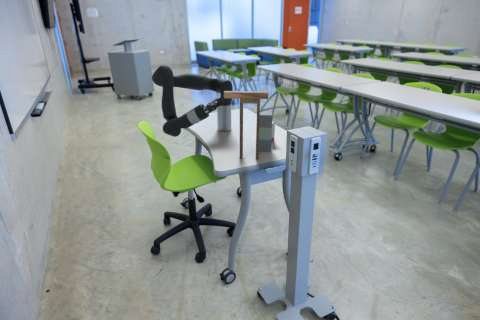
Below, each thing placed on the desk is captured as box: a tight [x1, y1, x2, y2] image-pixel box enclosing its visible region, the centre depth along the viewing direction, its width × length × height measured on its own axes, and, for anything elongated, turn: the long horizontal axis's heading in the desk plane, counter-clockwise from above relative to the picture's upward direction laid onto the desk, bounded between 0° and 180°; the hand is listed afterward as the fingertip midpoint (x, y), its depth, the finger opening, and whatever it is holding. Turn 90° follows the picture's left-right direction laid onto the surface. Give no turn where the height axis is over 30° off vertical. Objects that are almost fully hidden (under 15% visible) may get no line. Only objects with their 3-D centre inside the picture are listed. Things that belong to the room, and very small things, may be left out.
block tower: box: [259, 111, 273, 152], centre depth 173 cm, size 6×8×21 cm
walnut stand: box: [239, 99, 261, 160], centre depth 161 cm, size 6×10×32 cm, turn 87°
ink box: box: [271, 120, 276, 143], centre depth 188 cm, size 9×5×12 cm, turn 100°
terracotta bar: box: [224, 90, 269, 100], centre depth 154 cm, size 3×22×3 cm, turn 87°
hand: (224, 99), depth 156 cm, fingers open, 8 cm apart
